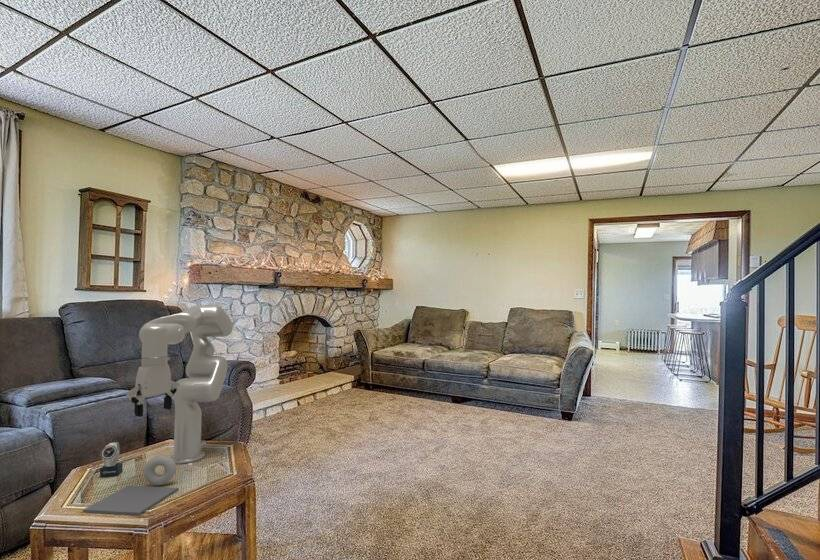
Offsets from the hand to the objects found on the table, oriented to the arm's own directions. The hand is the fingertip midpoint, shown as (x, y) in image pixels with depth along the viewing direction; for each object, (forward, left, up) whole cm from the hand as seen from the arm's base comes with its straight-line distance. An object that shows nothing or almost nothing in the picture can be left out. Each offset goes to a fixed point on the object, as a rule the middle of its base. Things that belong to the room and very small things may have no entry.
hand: (153, 412), depth 143 cm
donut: (-1, +2, -25) cm, 25 cm away
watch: (-8, -22, -25) cm, 34 cm away
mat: (+11, +2, -24) cm, 27 cm away
